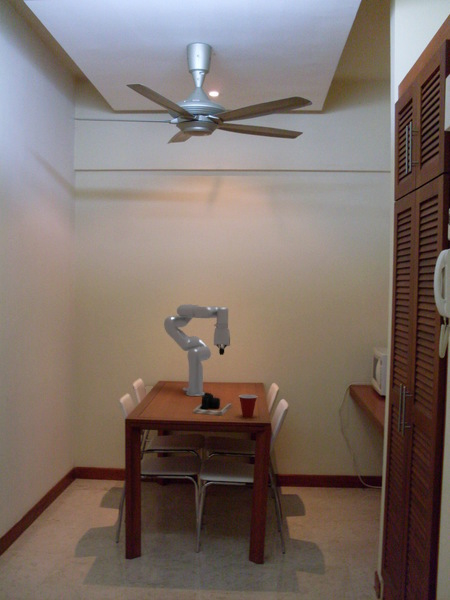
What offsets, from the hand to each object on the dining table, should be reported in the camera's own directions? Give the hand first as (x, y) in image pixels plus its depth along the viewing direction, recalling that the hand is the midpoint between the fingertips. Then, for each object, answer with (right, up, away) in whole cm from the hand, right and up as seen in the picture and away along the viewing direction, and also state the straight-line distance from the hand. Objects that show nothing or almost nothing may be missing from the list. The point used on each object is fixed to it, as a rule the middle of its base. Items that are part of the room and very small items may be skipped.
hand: (221, 354), depth 351 cm
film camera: (-6, -30, -22) cm, 38 cm away
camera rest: (-5, -30, -27) cm, 40 cm away
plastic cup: (+15, -31, -40) cm, 53 cm away
